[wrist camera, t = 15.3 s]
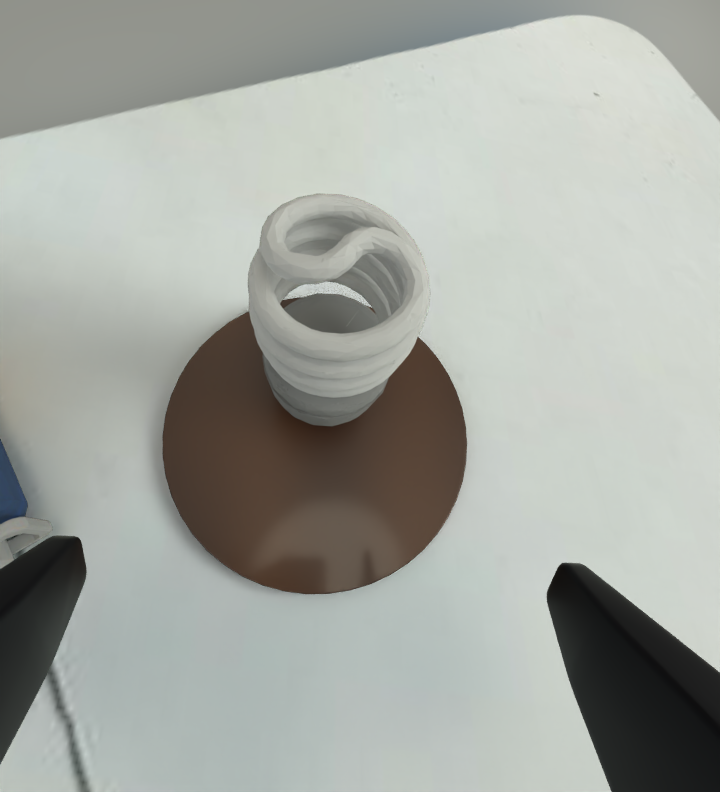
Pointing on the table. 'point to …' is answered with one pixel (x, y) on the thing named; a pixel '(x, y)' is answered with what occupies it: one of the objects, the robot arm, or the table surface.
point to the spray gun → (15, 515)
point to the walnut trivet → (310, 469)
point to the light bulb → (335, 304)
